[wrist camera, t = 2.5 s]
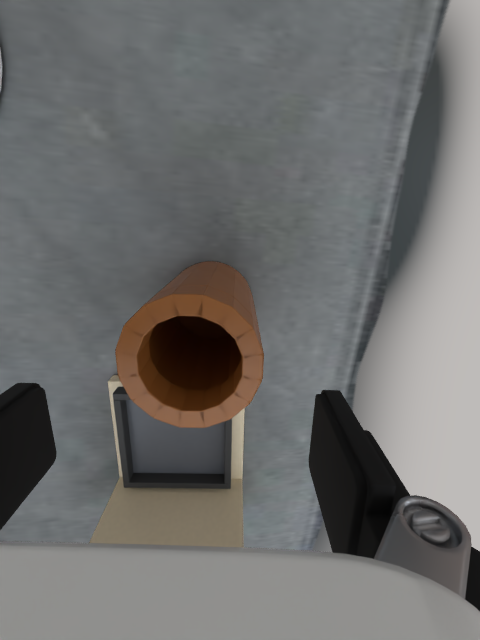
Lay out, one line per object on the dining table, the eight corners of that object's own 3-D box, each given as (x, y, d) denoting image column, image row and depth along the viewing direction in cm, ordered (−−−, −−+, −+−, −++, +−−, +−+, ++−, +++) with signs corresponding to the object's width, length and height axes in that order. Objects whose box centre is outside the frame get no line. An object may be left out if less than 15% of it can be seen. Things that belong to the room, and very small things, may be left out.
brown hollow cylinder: (169, 260, 24) (108, 292, 13) (253, 261, 24) (266, 295, 13) (172, 338, 26) (123, 427, 15) (250, 340, 26) (260, 429, 15)
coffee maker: (111, 374, 27) (-596, 1221, 4) (246, 377, 28) (289, 1204, 4) (128, 510, 32) (-155, 1245, 9) (241, 511, 32) (251, 1237, 9)
